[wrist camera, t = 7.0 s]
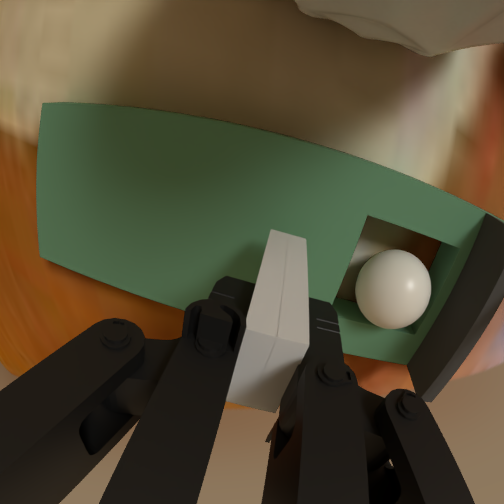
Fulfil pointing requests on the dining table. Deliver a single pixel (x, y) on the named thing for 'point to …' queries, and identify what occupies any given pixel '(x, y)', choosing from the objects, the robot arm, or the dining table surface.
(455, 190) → the dining table surface
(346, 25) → the vase
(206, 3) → the dining table surface
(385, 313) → the ball
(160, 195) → the green
